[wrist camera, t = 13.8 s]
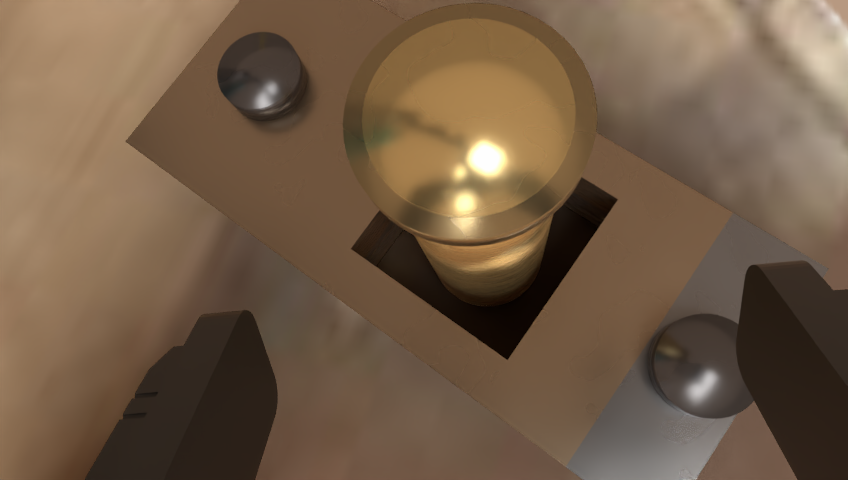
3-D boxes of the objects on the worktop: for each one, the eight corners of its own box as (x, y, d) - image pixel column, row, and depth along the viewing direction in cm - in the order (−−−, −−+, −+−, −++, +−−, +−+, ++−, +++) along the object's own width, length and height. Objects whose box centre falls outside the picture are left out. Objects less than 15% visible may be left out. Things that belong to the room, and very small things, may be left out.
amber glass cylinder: (396, 268, 24) (292, 148, 12) (471, 166, 24) (437, -40, 13) (504, 344, 23) (499, 289, 11) (579, 235, 23) (649, 77, 12)
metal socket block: (176, 175, 26) (108, 130, 22) (311, 6, 27) (273, -71, 23) (634, 513, 21) (668, 544, 17) (778, 288, 22) (846, 261, 18)
